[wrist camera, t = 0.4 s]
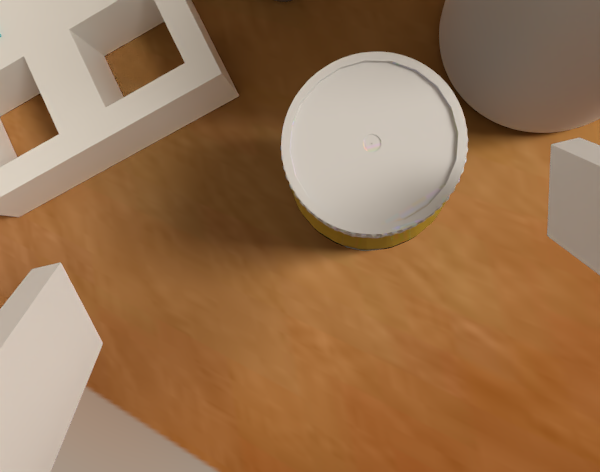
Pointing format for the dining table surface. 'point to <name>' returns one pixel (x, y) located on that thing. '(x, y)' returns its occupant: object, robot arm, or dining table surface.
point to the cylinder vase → (525, 60)
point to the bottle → (373, 149)
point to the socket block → (95, 88)
